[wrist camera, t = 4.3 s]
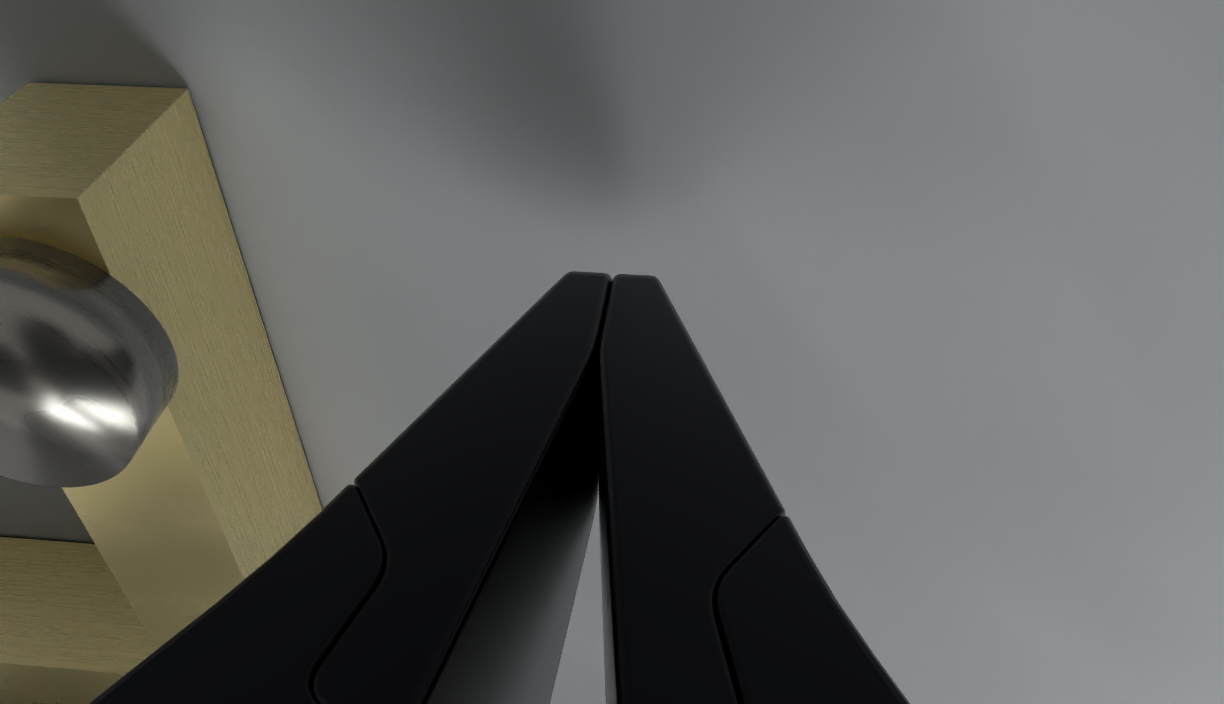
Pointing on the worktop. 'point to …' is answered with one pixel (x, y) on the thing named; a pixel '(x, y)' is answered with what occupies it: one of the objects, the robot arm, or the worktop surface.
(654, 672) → the robot arm
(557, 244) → the worktop surface
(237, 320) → the yellow l-shaped bracket
